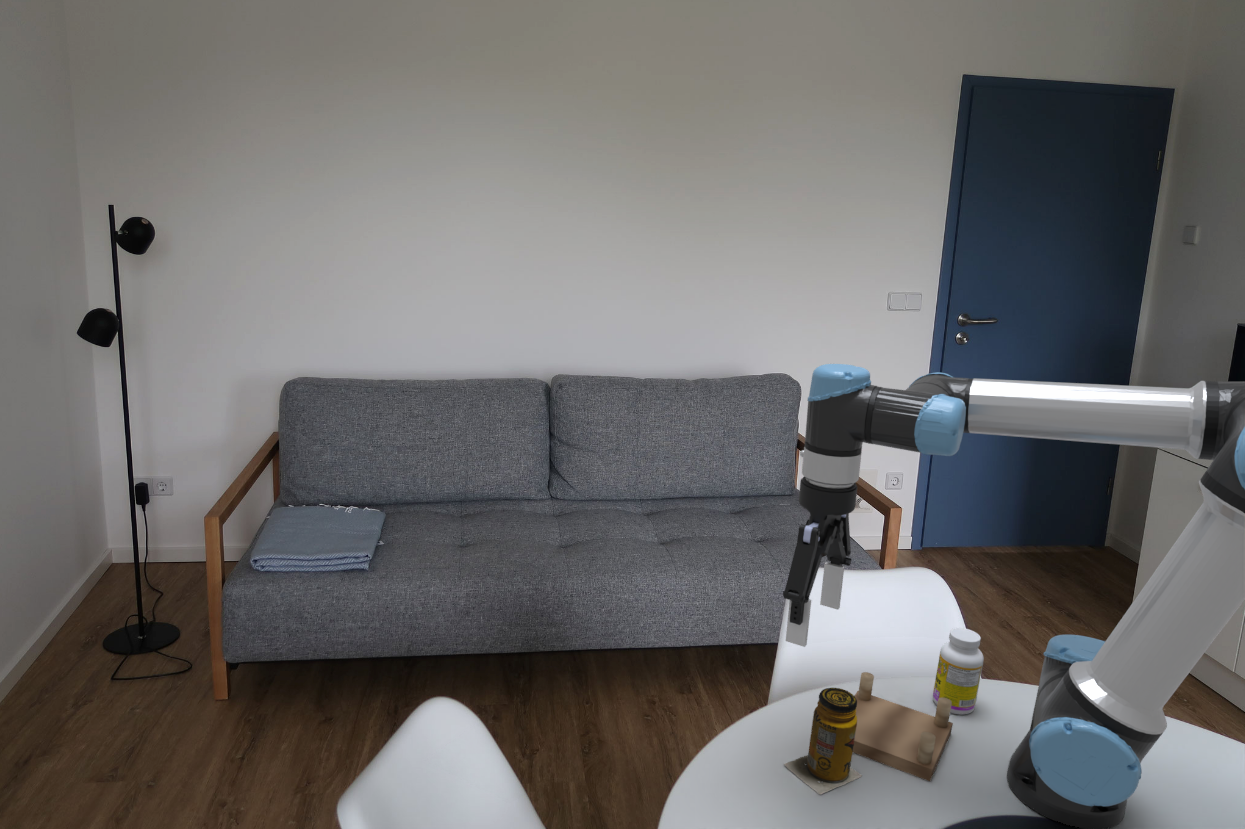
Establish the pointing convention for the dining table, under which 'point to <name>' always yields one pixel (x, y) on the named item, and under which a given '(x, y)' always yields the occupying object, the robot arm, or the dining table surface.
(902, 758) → the peg holder
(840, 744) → the condiment
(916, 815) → the dining table surface
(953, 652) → the supplement bottle
